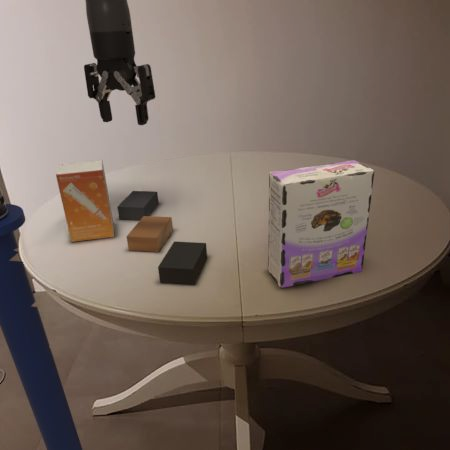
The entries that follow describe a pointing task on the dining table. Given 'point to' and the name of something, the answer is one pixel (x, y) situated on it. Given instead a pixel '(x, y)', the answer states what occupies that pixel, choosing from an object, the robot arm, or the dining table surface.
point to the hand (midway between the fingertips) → (125, 122)
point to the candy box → (318, 221)
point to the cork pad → (150, 234)
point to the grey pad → (138, 205)
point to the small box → (85, 200)
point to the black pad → (183, 263)
